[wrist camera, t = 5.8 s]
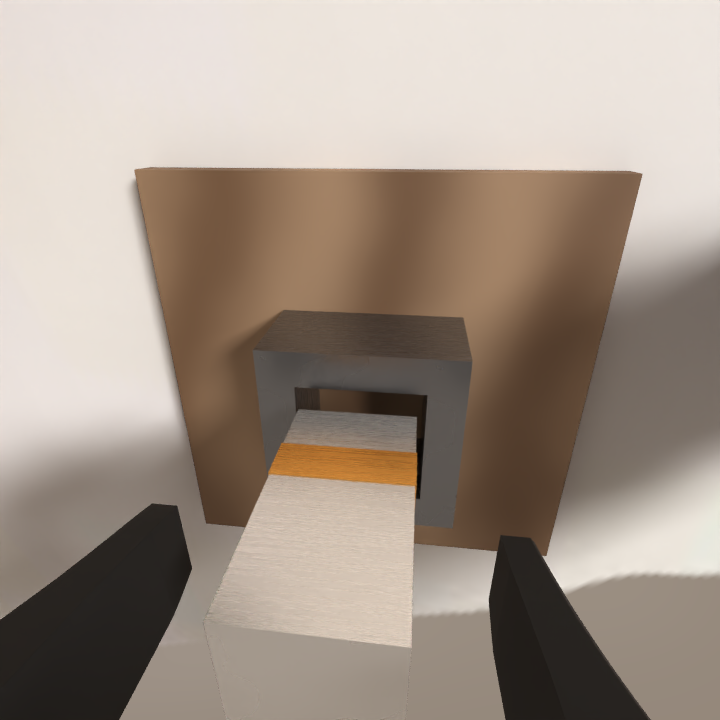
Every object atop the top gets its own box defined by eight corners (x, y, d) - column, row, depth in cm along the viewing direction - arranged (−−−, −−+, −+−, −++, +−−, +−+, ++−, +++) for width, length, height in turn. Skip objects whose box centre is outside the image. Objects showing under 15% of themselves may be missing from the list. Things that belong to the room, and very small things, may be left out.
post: (417, 416, 13) (413, 647, 7) (412, 508, 15) (404, 759, 9) (297, 408, 14) (201, 620, 8) (304, 499, 15) (227, 734, 9)
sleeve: (463, 317, 16) (472, 361, 13) (447, 463, 19) (452, 528, 16) (283, 309, 17) (252, 350, 14) (295, 451, 20) (271, 511, 17)
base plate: (628, 171, 15) (642, 173, 14) (541, 538, 22) (546, 556, 21) (149, 167, 16) (134, 169, 15) (214, 508, 23) (206, 523, 23)
